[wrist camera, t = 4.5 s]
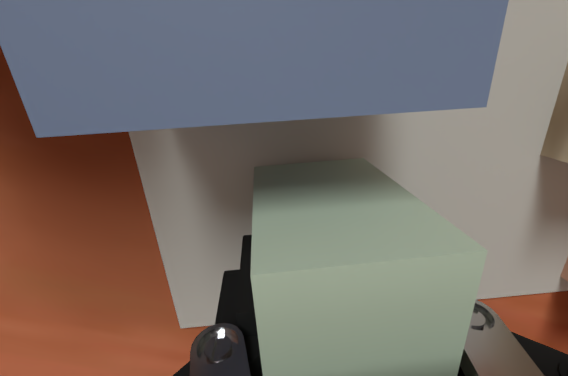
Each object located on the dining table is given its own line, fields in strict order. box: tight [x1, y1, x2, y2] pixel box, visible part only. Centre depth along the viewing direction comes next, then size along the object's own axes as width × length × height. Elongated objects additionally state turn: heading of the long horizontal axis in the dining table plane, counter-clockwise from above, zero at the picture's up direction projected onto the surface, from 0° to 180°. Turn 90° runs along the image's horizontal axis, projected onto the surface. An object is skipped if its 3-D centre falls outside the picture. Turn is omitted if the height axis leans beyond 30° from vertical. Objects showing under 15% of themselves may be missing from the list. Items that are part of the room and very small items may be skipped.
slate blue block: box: [0, 0, 509, 138], centre depth 6 cm, size 7×4×6 cm, turn 93°
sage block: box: [250, 158, 488, 376], centre depth 9 cm, size 8×4×6 cm, turn 3°
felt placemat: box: [129, 0, 568, 328], centre depth 11 cm, size 16×26×1 cm, turn 93°
